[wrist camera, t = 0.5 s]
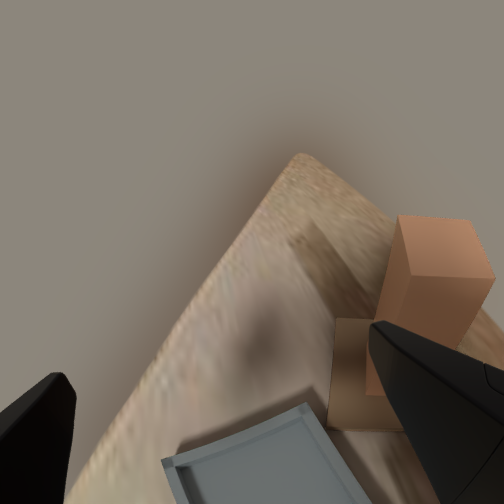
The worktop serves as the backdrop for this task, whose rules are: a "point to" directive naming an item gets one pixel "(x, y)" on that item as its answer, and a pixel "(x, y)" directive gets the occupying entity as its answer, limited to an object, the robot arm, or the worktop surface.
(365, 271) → the worktop surface
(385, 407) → the peg on square base
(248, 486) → the tray
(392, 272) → the tan rectangular prism
